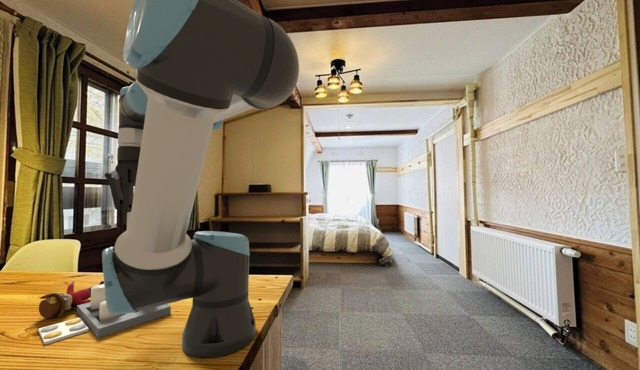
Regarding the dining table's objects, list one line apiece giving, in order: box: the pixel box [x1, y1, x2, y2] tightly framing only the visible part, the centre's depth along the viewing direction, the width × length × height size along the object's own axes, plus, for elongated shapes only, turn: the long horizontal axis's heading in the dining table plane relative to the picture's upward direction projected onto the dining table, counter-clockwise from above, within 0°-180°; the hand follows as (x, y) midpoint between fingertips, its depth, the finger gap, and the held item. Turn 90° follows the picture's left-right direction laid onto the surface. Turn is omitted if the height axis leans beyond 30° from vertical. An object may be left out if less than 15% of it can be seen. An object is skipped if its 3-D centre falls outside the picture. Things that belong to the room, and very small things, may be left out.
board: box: [76, 302, 172, 339], centre depth 69 cm, size 20×15×2 cm
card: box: [38, 317, 90, 346], centre depth 60 cm, size 9×7×1 cm
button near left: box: [99, 301, 120, 322], centre depth 63 cm, size 4×4×5 cm
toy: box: [38, 280, 104, 319], centre depth 72 cm, size 11×7×15 cm
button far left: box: [90, 284, 106, 309], centre depth 68 cm, size 4×4×5 cm
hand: (132, 237), depth 68 cm, fingers closed
